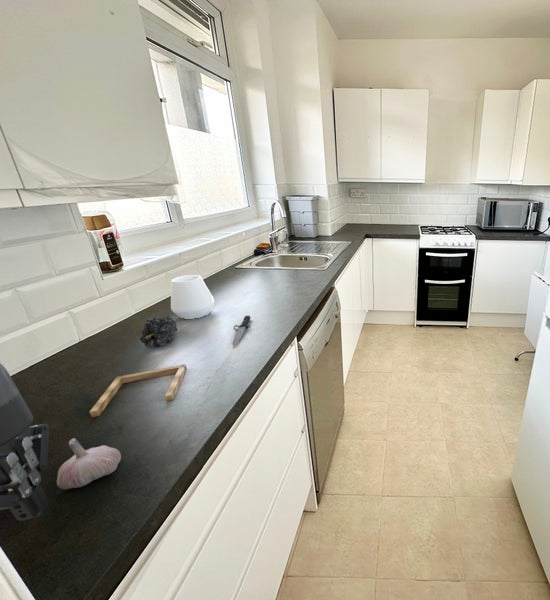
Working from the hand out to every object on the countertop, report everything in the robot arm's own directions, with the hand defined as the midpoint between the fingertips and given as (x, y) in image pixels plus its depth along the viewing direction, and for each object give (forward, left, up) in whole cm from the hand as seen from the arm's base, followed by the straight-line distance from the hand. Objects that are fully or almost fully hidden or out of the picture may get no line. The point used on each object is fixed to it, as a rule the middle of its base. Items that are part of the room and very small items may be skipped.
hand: (35, 513), depth 40 cm
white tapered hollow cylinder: (-42, +70, -6) cm, 82 cm away
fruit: (-36, +52, -6) cm, 63 cm away
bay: (-19, +29, -6) cm, 35 cm away
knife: (-16, +60, -6) cm, 62 cm away
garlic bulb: (-6, +9, -6) cm, 13 cm away
